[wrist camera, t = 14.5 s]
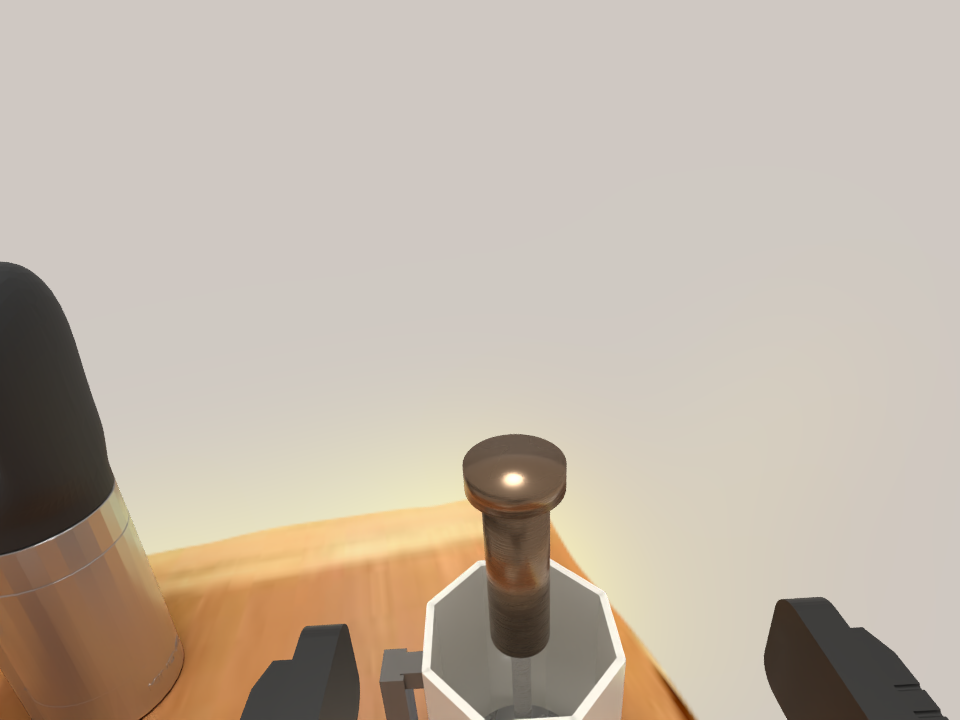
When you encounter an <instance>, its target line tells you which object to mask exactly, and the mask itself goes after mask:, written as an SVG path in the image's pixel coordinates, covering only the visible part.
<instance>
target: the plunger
mask: <svg viewBox="0 0 960 720" xmlns="http://www.w3.org/2000/svg"><path fill="white" fill-rule="evenodd" d="M463 477H464V489H465V494H466V497H467V499H468V501H469V502H470V503H471V504H472V505H473V506H474V507H475V508H476V509H478V510H479V511H481V512H482V517H483V532H484V547H485V562H486V577H487V592H488V607H489V622H490V635H491V639H492V642H493V644H494V645H495V647H496V648H497V649H498V650H499V651H500V652H502V653H503V654H505V655H507V656H510V657H511V663H512V685H513V705H510V706H506V707H503V708H500V709H498V710H496V711H494V712H492V713H490V714H489V715H488V716H486V717H485V718H484V719H485V720H515V719H532V718H549V717H560V716H558V715H557V714H555V713H553V712H552V711H550V710H548V709H545V708H543V707H539V706H535V705H532V694H531V657H532V656H534V655H536V654H538V653H540V652H541V651H542V650H543V649H544V648H545V647H546V645H547V643H548V641H549V638H550V510H552V509H553V508H555V507H556V506H557V505H558V504H559V503H560V502H561V501H562V499H563V498H564V495H565V492H566V458H565V456H564V454H563V453H562V451H561V450H560V449H559V448H558V447H557V446H555V445H554V444H552V443H551V442H549V441H547V440H544V439H542V438H539V437H535V436H530V435H522V434H510V435H502V436H496V437H492V438H489V439H486V440H484V441H482V442H480V443H478V444H476V445H475V446H474V447H472V448H471V449H470V450H469V451H468V453H467V454H466V455H465V457H464V460H463Z"/></svg>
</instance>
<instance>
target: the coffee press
mask: <svg viewBox="0 0 960 720" xmlns="http://www.w3.org/2000/svg"><path fill="white" fill-rule="evenodd" d="M625 665H626V658H625V655H624V651H623V648H622V645H621V641H620V638H619V634H618V631H617V628H616V624H615V621H614V618H613V614H612V611H611V607H610V604H609V601H608V597H607V594H606V593H605V591H603V590H601V589H600V588H598V587H596V586H595V585H593V584H591V583H590V582H588V581H586V580H585V579H583V578H581V577H580V576H578V575H576V574H575V573H573V572H571V571H570V570H568V569H566V568H565V567H563V566H561V565H560V564H558V563H556V562H555V561H553V560H551V559H550V638H549V641H548V643H547V645H546V647H545V648H544V649H543V650H542V651H541V652H540V653H538V654H536V655H534V656H532V657H531V694H532V705H535V706H539V707H543V708H545V709H548V710H550V711H552V712H553V713H555V714H557V715H558V716H560V717H549V718H532V719H515V720H621V714H622V701H623V689H624V677H625ZM379 683H380V688H381V693H382V698H383V703H384V708H385V713H386V718H387V720H418V716H417V709H416V703H415V697H414V691H413V689H420V688H424V691H425V698H426V705H427V712H428V718H429V720H485V719H484V718H485V717H486V716H488V715H489V714H490V713H492V712H494V711H496V710H498V709H500V708H503V707H506V706H510V705H513V685H512V663H511V657H510V656H507V655H505V654H503V653H502V652H500V651H499V650H498V649H497V648H496V647H495V645H494V644H493V642H492V639H491V635H490V622H489V607H488V592H487V577H486V562H485V560H482V561H477V562H476V563H475V564H474V565H473V566H471V567H470V568H469V569H468V570H466V571H465V572H464V573H463V574H462V575H460V576H459V577H458V578H457V579H456V580H454V581H453V582H452V583H451V584H450V585H448V586H447V587H446V588H445V589H444V590H442V591H441V592H440V593H439V594H437V595H436V596H435V597H434V598H433V599H431V600H430V601H429V602H428V604H427V610H426V623H425V636H424V648H423V651H419V652H407V649H390V650H384V655H383V662H382V668H381V675H380V681H379Z"/></svg>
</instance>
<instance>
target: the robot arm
mask: <svg viewBox="0 0 960 720" xmlns="http://www.w3.org/2000/svg"><path fill="white" fill-rule="evenodd" d="M183 659H184V652H183V646H182V644H181V641H180V639H179V636H178V634H177V631H176V629H175V626H174V624H173V621H172V619H171V616H170V613H169V611H168V608H167V606H166V603H165V601H164V598H163V596H162V593H161V591H160V589H159V586H158V584H157V581H156V579H155V576H154V574H153V571H152V569H151V566H150V564H149V561H148V559H147V556H146V554H145V551H144V549H143V546H142V544H141V541H140V539H139V537H138V534H137V532H136V529H135V527H134V524H133V522H132V519H131V517H130V515H129V512H128V510H127V507H126V505H125V502H124V500H123V498H122V495H121V493H120V490H119V487H118V485H117V483H116V480H115V478H114V475H113V473H112V470H111V467H110V465H109V462H108V457H107V450H106V443H105V437H104V431H103V427H102V424H101V420H100V418H99V415H98V411H97V408H96V406H95V403H94V400H93V397H92V394H91V391H90V388H89V385H88V382H87V379H86V376H85V373H84V369H83V366H82V363H81V359H80V356H79V353H78V350H77V346H76V343H75V340H74V337H73V334H72V332H71V329H70V326H69V323H68V321H67V319H66V316H65V314H64V313H63V310H62V308H61V306H60V304H59V302H58V301H57V299H56V297H55V296H54V294H53V293H52V291H51V290H50V289H49V288H48V286H47V285H46V284H45V283H44V282H43V281H42V280H41V279H40V278H39V277H38V276H37V275H35V274H34V273H33V272H31V271H30V270H28V269H26V268H25V267H23V266H20V265H17V264H13V263H9V262H0V669H1V670H2V672H3V674H4V675H5V677H6V679H7V680H8V682H9V683H10V685H11V687H12V688H13V690H14V691H15V693H16V695H17V696H18V698H19V700H20V701H21V703H22V704H23V706H24V708H25V709H26V711H27V712H28V714H29V716H30V717H31V719H32V720H139V719H140V718H142V717H143V716H144V715H146V714H147V713H148V712H149V711H151V710H152V709H153V708H154V707H155V706H156V705H157V704H158V703H159V702H160V701H161V700H162V699H163V698H164V696H165V695H166V694H167V693H168V692H169V690H170V689H171V688H172V686H173V684H174V683H175V681H176V680H177V678H178V676H179V673H180V671H181V668H182V665H183ZM764 665H765V671H766V675H767V679H768V682H769V685H770V687H771V690H772V692H773V693H774V695H775V697H776V699H777V701H778V703H779V705H780V707H781V709H782V711H783V712H784V714H785V716H786V718H787V720H948V718H947V717H943V716H942V714H941V711H940V708H939V707H938V706H937V705H936V703H935V702H934V701H933V700H932V699H931V697H930V696H929V695H928V693H927V692H926V691H925V690H922V689H921V688H920V684H919V682H918V681H917V680H916V679H915V677H914V676H913V675H912V674H911V672H910V671H909V670H908V668H907V667H906V666H905V665H904V664H903V662H902V661H901V660H900V658H898V656H897V655H896V654H895V653H894V652H893V651H892V650H891V649H889V648H888V647H887V646H886V645H884V644H883V643H882V642H881V641H879V640H878V639H877V638H876V637H874V636H873V635H872V634H870V633H869V632H868V631H867V630H865V629H864V628H863V627H860V628H850V627H849V626H848V624H847V623H846V622H845V620H844V619H843V618H842V616H841V615H840V614H839V612H838V611H837V610H836V608H835V607H834V606H833V605H832V603H830V602H829V601H828V600H827V599H825V598H823V597H812V598H795V599H781V600H779V601H778V602H777V603H776V606H775V610H774V614H773V619H772V623H771V627H770V631H769V636H768V640H767V645H766V648H765V653H764ZM359 700H360V683H359V675H358V670H357V666H356V661H355V657H354V652H353V647H352V643H351V638H350V634H349V629H348V627H347V625H346V624H335V625H318V626H306V627H305V628H304V629H303V630H302V632H301V634H300V637H299V640H298V643H297V647H296V650H295V653H294V656H293V659H292V660H279V661H273V662H272V663H271V664H270V666H269V667H268V668H267V670H266V671H265V672H264V674H263V675H262V676H261V677H260V679H259V680H258V681H257V683H256V684H255V685H254V687H253V688H252V689H251V692H250V694H249V697H248V700H247V702H246V705H245V708H244V710H243V713H242V716H241V718H240V720H357V718H358V711H359Z"/></svg>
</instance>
